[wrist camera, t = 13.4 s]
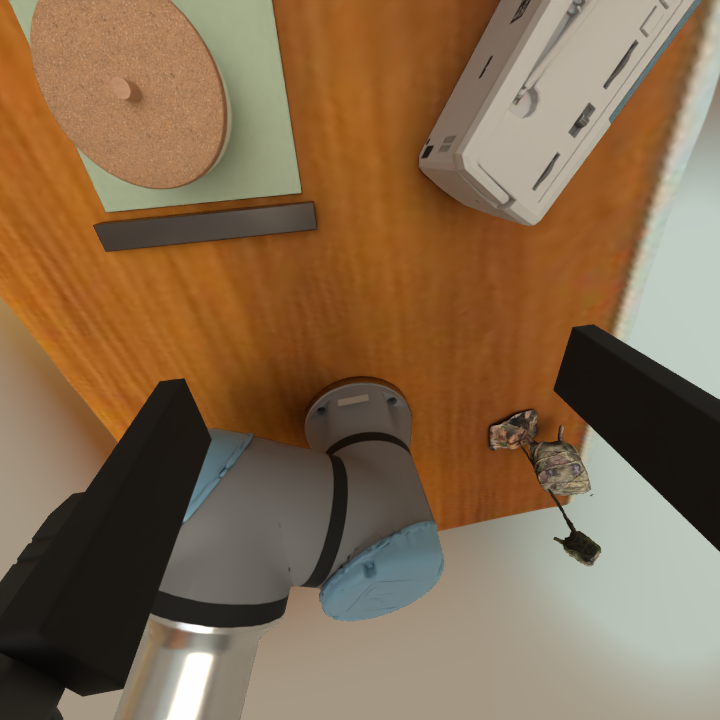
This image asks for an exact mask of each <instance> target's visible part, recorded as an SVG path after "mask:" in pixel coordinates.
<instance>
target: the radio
mask: <svg viewBox="0 0 720 720" xmlns="http://www.w3.org/2000/svg"><path fill="white" fill-rule="evenodd" d="M701 1H702V0H501V1H500V3H499V5H498V7H497V8H496V10H495V12H494V14H493V16H492V18H491V20H490V22H489V24H488V26H487V27H486V29H485V31H484V33H483V35H482V37H481V39H480V41H479V43H478V45H477V46H476V48H475V50H474V52H473V54H472V56H471V58H470V60H469V62H468V64H467V65H466V67H465V69H464V71H463V73H462V75H461V77H460V79H459V81H458V83H457V84H456V86H455V88H454V90H453V92H452V94H451V96H450V98H449V100H448V102H447V103H446V105H445V107H444V109H443V111H442V113H441V115H440V117H439V119H438V120H437V122H436V124H435V126H434V128H433V130H432V132H431V134H430V136H429V138H428V139H427V141H426V143H425V145H424V147H423V149H422V151H421V153H420V155H419V168H420V169H421V171H422V172H423V173H424V174H425V175H426V176H427V177H428V178H430V179H431V180H432V181H433V182H434V183H435V184H436V185H437V186H438V187H440V188H441V189H442V190H443V191H445V192H446V193H447V194H448V195H450V196H451V197H453V198H454V199H456V200H457V201H459V202H460V203H462V204H463V205H465V206H468V207H471V208H473V209H476V210H479V211H481V212H484V213H487V214H490V215H493V216H496V217H500V218H503V219H506V220H509V221H512V222H515V223H519V224H523V225H530V226H532V225H535V224H536V223H538V222H539V221H540V220H541V219H542V218H543V216H544V215H545V214H546V212H547V211H548V209H549V208H550V207H551V205H552V204H553V203H554V201H555V200H556V199H557V197H558V196H559V195H560V193H561V192H562V190H563V189H564V188H565V186H566V185H567V184H568V182H569V181H570V180H571V178H572V177H573V175H574V174H575V173H576V171H577V170H578V169H579V167H580V166H581V165H582V163H583V162H584V160H585V159H586V158H587V156H588V155H589V154H590V152H591V151H592V150H593V148H594V147H595V145H596V144H597V143H598V141H599V140H600V139H601V137H602V136H603V135H604V133H605V132H606V131H607V129H608V128H609V126H610V125H611V123H612V122H613V121H614V119H615V118H616V117H617V115H618V114H619V112H620V111H621V110H622V108H623V107H624V106H625V104H626V103H627V101H628V100H629V99H630V97H631V96H632V95H633V93H634V92H635V91H636V89H637V88H638V86H639V85H640V84H641V82H642V81H643V80H644V78H645V77H646V76H647V74H648V73H649V72H650V70H651V69H652V67H653V66H654V65H655V63H656V62H657V61H658V59H659V58H660V57H661V55H662V54H663V52H664V51H665V50H666V48H667V47H668V46H669V44H670V43H671V42H672V40H673V39H674V38H675V36H676V35H677V33H678V32H679V31H680V29H681V28H682V27H683V25H684V24H685V23H686V21H687V20H688V18H689V17H690V16H691V14H692V13H693V12H694V10H695V9H696V8H697V6H698V5H699V4H700V2H701Z"/></svg>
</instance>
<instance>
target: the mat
mask: <svg viewBox="0 0 720 720" xmlns="http://www.w3.org/2000/svg"><path fill="white" fill-rule="evenodd" d="M9 1H10V4H11V6H12V8H13V10H14V12H15V14H16V17H17V19H18V21H19V23H20V25H21V28H22V30H23V32H24V34H25V36H26V38H27V41H28V43H29V45H30V31H31V22H32V16H33V13H34V10H35V7H36V4H37V1H38V0H9ZM171 1H172V2H173V3H174V4H175V5H176V6H177V7H178V8H179V9H180V10H181V11H182V12H183V13H184V14H185V16H186V17H187V18H188V19H189V21H190V22H191V23H192V24H193V26H194V27H195V28H196V30H197V31H198V32H199V34H200V35H201V37H202V39H203V40H204V42H205V43H206V45H207V46H208V48H209V49H210V51H211V53H212V54H213V56H214V57H215V59H216V61H217V63H218V66H219V68H220V70H221V72H222V74H223V76H224V79H225V82H226V85H227V88H228V91H229V96H230V101H231V106H232V132H231V137H230V142H229V145H228V147H227V150H226V152H225V154H224V156H223V157H222V159H221V161H220V162H219V163H218V164H217V165H216V167H215V168H214V169H213V170H212V171H210V172H209V173H208V174H206V175H205V176H204V177H202V178H200V179H198V180H196V181H194V182H192V183H190V184H188V185H186V186H182V187H178V188H174V189H162V190H160V189H149V188H144V187H140V186H136V185H133V184H130V183H128V182H125V181H123V180H121V179H119V178H117V177H115V176H113V175H111V174H110V173H108V172H106V171H105V170H103V169H102V168H101V167H99V166H98V165H96V164H95V163H94V162H92V161H91V160H90V159H89V158H88V157H87V156H86V155H85V154H83V153H82V152H81V151H80V150H79V149H78V148H77V146H76V145H75V146H76V148H77V150H78V152H79V154H80V156H81V159H82V161H83V163H84V165H85V167H86V170H87V172H88V174H89V176H90V178H91V180H92V183H93V185H94V187H95V189H96V191H97V194H98V196H99V198H100V200H101V202H102V204H103V207H104V209H105V211H106V212H116V211H126V210H136V209H146V208H156V207H166V206H177V205H187V204H197V203H207V202H217V201H227V200H237V199H247V198H257V197H268V196H278V195H288V194H298V193H302V191H301V184H300V178H299V171H298V165H297V158H296V152H295V146H294V139H293V133H292V126H291V120H290V113H289V107H288V100H287V94H286V88H285V81H284V75H283V68H282V62H281V55H280V49H279V42H278V36H277V30H276V23H275V17H274V10H273V4H272V0H171ZM30 47H31V46H30Z"/></svg>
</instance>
